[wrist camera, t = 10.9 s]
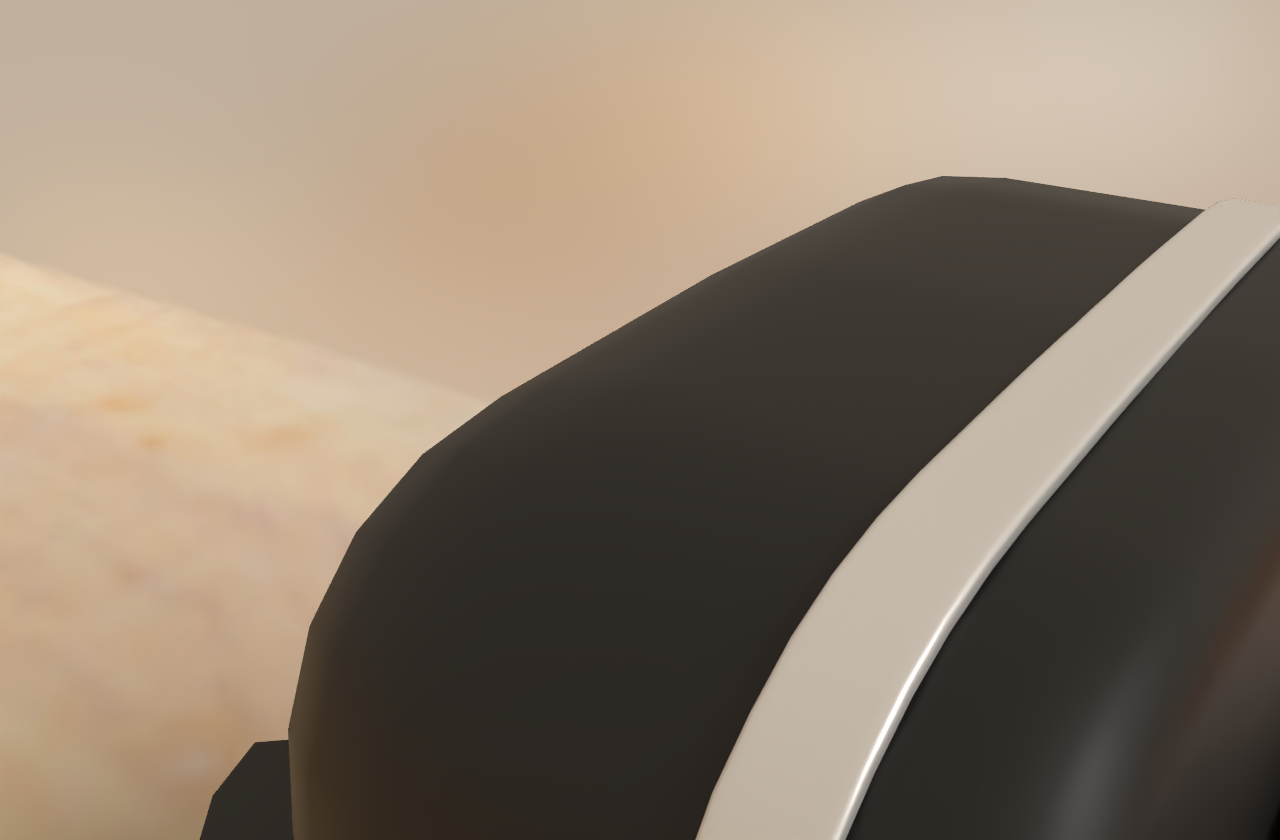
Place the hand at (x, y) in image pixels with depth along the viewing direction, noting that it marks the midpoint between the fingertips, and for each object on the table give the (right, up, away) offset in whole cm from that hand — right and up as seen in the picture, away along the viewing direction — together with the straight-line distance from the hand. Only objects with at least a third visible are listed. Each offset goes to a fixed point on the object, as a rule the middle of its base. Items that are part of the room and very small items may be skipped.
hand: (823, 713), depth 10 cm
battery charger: (0, -7, +1) cm, 7 cm away
